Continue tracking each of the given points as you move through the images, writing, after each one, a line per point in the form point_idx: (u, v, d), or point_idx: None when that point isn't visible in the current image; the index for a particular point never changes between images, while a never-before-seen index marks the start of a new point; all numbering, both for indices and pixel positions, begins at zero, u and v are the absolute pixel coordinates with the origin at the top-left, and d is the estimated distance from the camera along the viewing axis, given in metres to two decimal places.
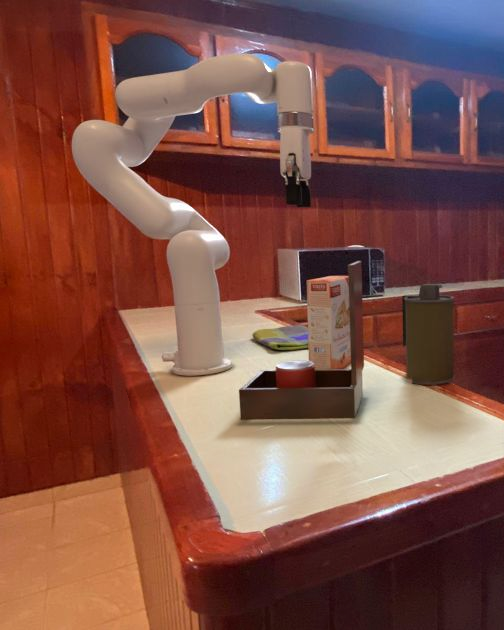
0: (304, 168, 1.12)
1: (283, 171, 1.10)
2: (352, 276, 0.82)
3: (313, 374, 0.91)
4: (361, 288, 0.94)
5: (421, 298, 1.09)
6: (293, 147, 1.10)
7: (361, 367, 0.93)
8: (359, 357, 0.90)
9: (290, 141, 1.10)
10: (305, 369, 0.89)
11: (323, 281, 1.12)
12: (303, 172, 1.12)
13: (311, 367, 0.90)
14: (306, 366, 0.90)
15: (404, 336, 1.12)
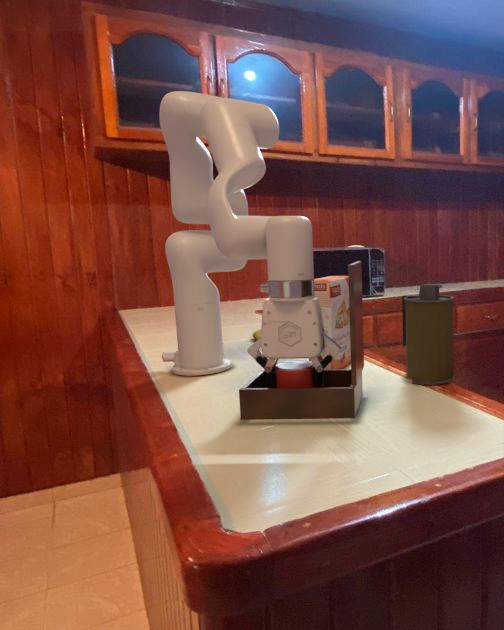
0: None
1: (321, 352, 0.89)
2: (352, 276, 0.82)
3: None
4: (361, 288, 0.94)
5: (421, 298, 1.09)
6: (322, 321, 0.90)
7: (361, 367, 0.93)
8: (359, 357, 0.90)
9: (321, 315, 0.89)
10: (305, 369, 0.89)
11: (323, 281, 1.12)
12: None
13: (311, 367, 0.90)
14: (306, 366, 0.90)
15: (404, 336, 1.12)
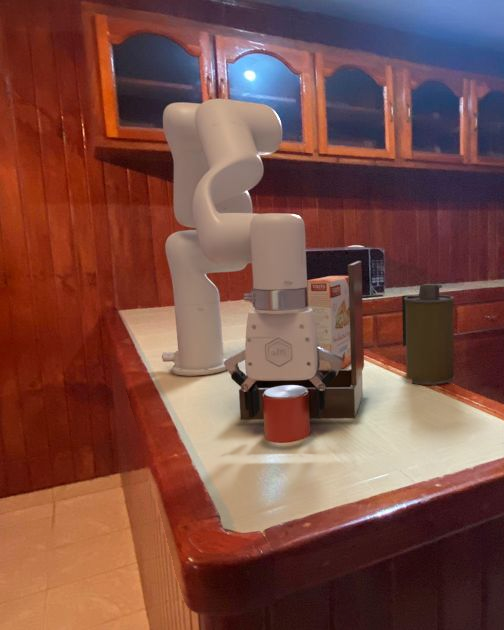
0: None
1: (315, 372, 0.76)
2: (352, 276, 0.82)
3: (306, 402, 0.78)
4: (361, 288, 0.94)
5: (421, 298, 1.09)
6: (317, 336, 0.77)
7: (361, 367, 0.93)
8: (359, 357, 0.90)
9: (315, 329, 0.77)
10: (297, 397, 0.76)
11: (323, 281, 1.12)
12: None
13: (304, 394, 0.77)
14: (298, 393, 0.77)
15: (404, 336, 1.12)
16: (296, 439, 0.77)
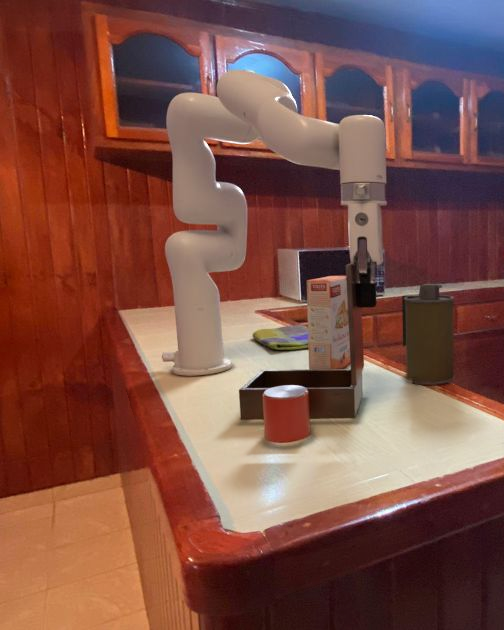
0: None
1: None
2: (350, 276, 0.82)
3: (306, 402, 0.78)
4: None
5: (421, 298, 1.09)
6: None
7: (361, 367, 0.93)
8: (359, 357, 0.90)
9: None
10: (297, 397, 0.76)
11: (323, 281, 1.12)
12: None
13: (304, 394, 0.77)
14: (298, 393, 0.77)
15: (404, 336, 1.12)
16: (296, 439, 0.77)
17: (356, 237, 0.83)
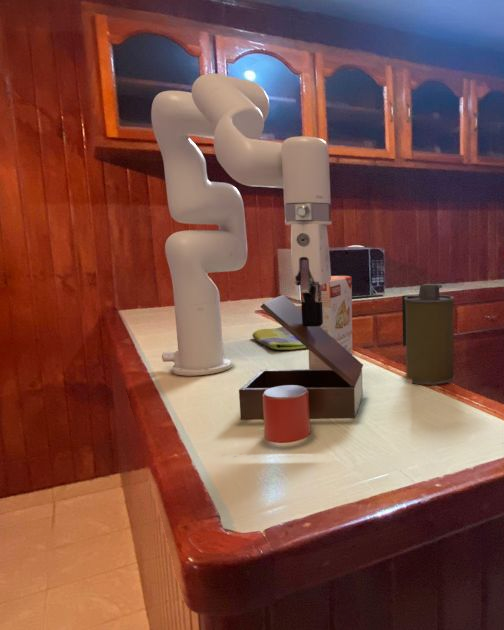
0: None
1: None
2: (271, 311, 0.83)
3: (306, 402, 0.78)
4: None
5: (421, 298, 1.09)
6: None
7: (356, 367, 0.93)
8: (344, 362, 0.90)
9: None
10: (297, 397, 0.76)
11: None
12: None
13: (304, 394, 0.77)
14: (298, 393, 0.77)
15: (404, 336, 1.12)
16: (296, 439, 0.77)
17: (298, 258, 0.83)
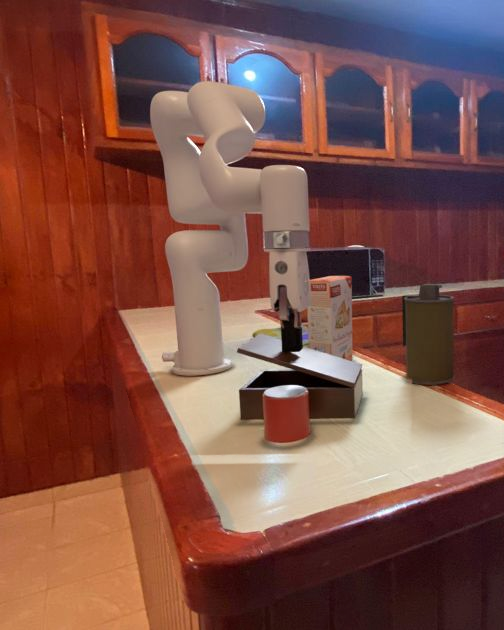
0: None
1: None
2: (248, 352, 0.84)
3: (306, 402, 0.78)
4: None
5: (421, 298, 1.09)
6: None
7: (354, 369, 0.93)
8: (339, 368, 0.90)
9: None
10: (297, 397, 0.76)
11: (323, 281, 1.12)
12: None
13: (304, 394, 0.77)
14: (298, 393, 0.77)
15: (404, 336, 1.12)
16: (296, 439, 0.77)
17: (276, 285, 0.84)
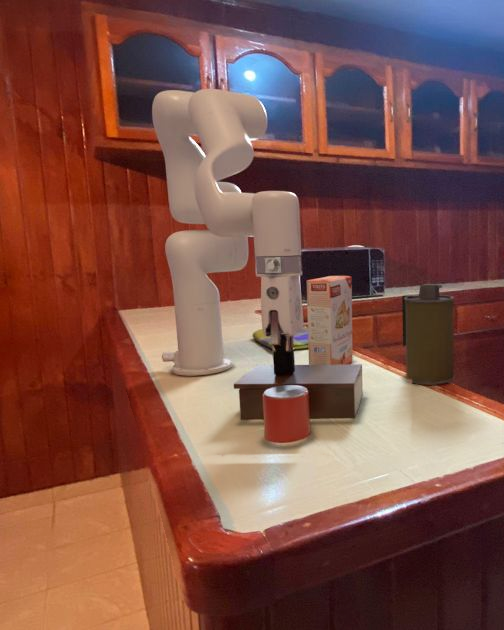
0: None
1: None
2: (244, 384, 0.85)
3: (306, 402, 0.78)
4: None
5: (421, 298, 1.09)
6: None
7: (353, 370, 0.93)
8: (337, 374, 0.90)
9: None
10: (297, 397, 0.76)
11: (323, 281, 1.12)
12: None
13: (304, 394, 0.77)
14: (298, 393, 0.77)
15: (404, 336, 1.12)
16: (296, 439, 0.77)
17: (267, 310, 0.84)
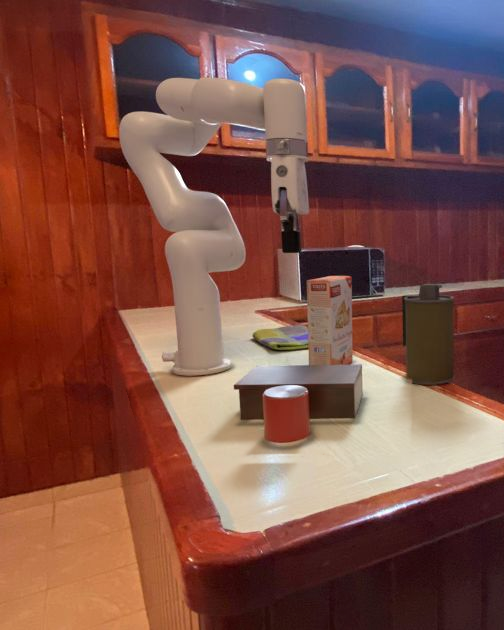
0: None
1: None
2: (244, 385, 0.85)
3: (306, 402, 0.78)
4: (281, 366, 0.96)
5: (421, 298, 1.09)
6: None
7: (353, 370, 0.93)
8: (337, 374, 0.90)
9: None
10: (297, 397, 0.76)
11: (323, 281, 1.12)
12: None
13: (304, 394, 0.77)
14: (298, 393, 0.77)
15: (404, 336, 1.12)
16: (296, 439, 0.77)
17: (277, 187, 0.93)
